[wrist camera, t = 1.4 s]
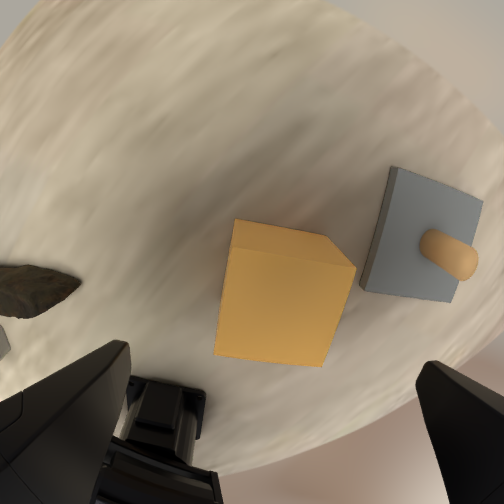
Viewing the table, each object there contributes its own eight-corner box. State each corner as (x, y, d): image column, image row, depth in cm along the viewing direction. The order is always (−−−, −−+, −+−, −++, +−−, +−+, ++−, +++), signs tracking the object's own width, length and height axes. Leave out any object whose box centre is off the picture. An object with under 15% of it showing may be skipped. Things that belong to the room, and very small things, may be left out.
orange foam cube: (303, 315, 20) (321, 367, 15) (220, 303, 20) (213, 354, 14) (326, 235, 18) (356, 268, 13) (235, 218, 18) (232, 246, 13)
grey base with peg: (444, 297, 20) (480, 329, 15) (359, 284, 19) (389, 322, 15) (475, 198, 18) (520, 213, 13) (391, 166, 17) (436, 173, 12)
